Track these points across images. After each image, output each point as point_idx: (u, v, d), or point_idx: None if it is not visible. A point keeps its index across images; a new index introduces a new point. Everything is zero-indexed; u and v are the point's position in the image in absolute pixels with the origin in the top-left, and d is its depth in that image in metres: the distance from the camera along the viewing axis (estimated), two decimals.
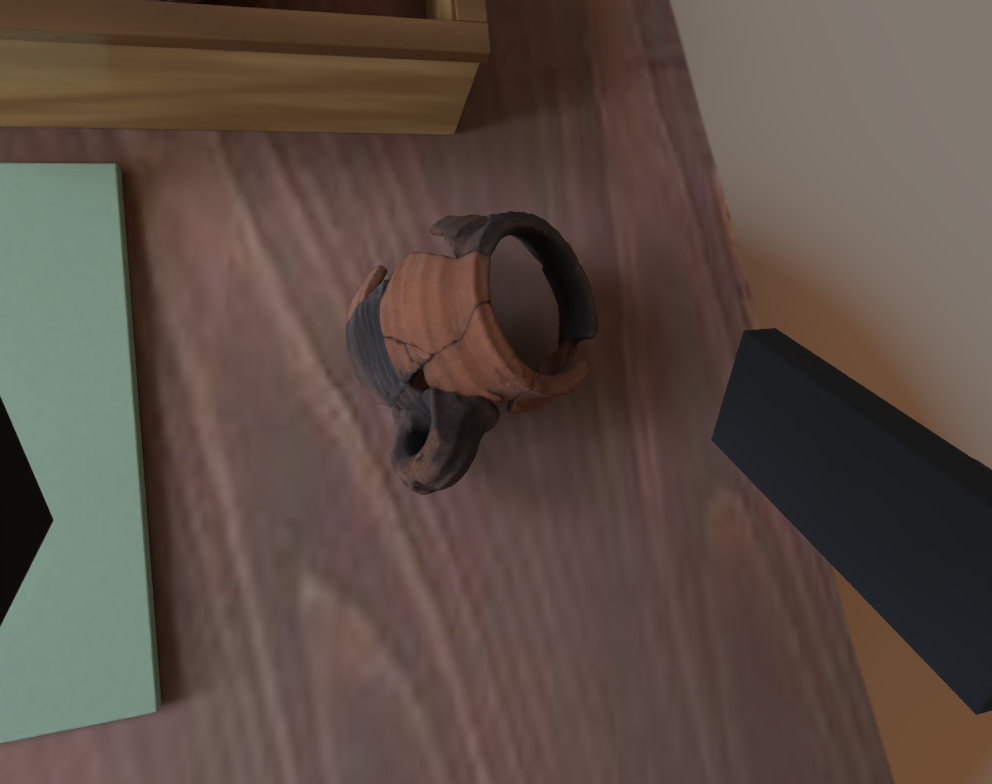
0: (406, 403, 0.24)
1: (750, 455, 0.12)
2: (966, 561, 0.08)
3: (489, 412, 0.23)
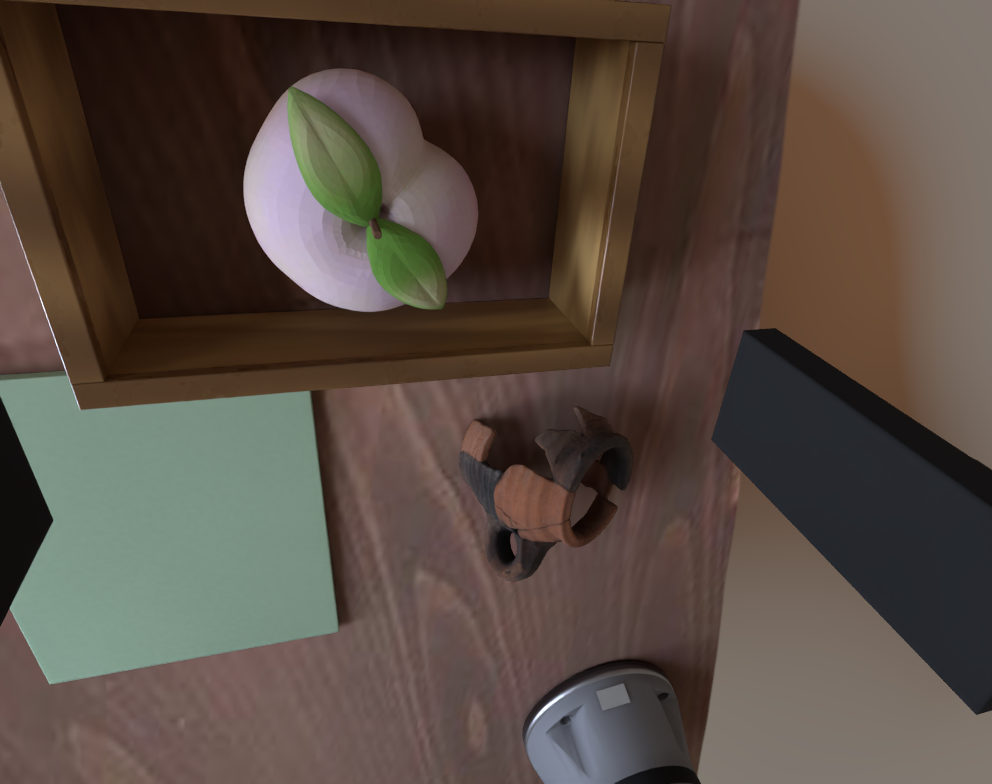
0: (499, 522, 0.38)
1: (750, 455, 0.12)
2: (966, 561, 0.08)
3: (551, 544, 0.37)
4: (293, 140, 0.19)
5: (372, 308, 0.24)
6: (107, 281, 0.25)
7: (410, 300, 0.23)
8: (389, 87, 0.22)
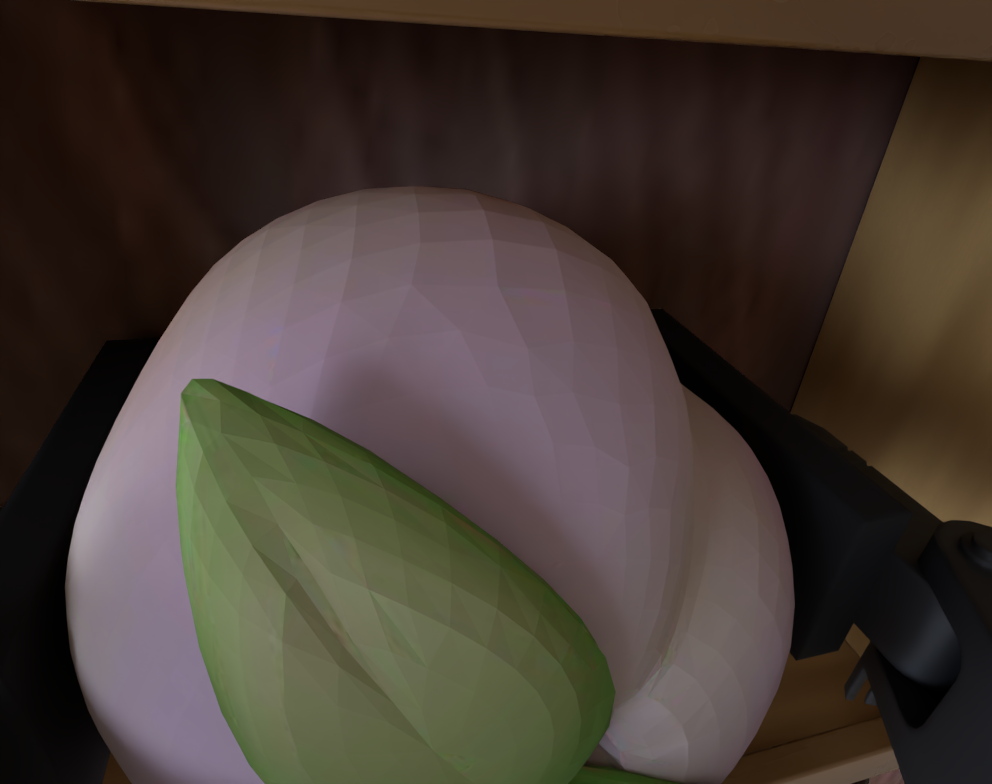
0: None
1: None
2: (785, 516, 0.09)
3: None
4: (212, 664, 0.04)
5: None
6: None
7: None
8: (600, 266, 0.06)
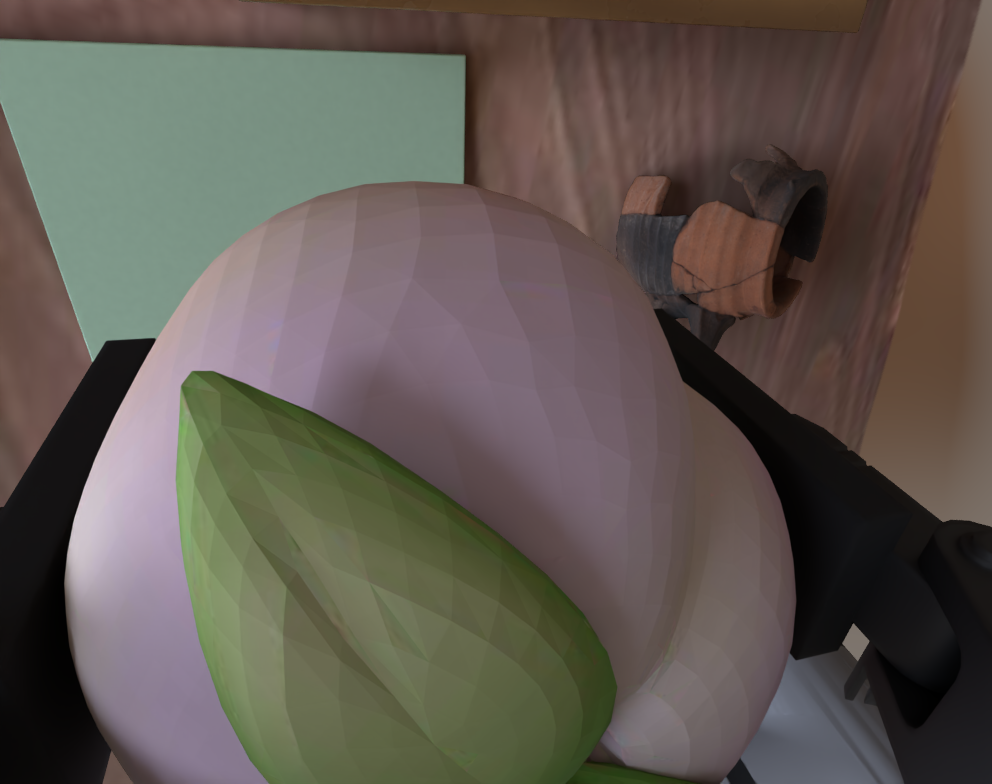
0: (666, 300, 0.32)
1: None
2: (784, 516, 0.09)
3: (730, 323, 0.32)
4: (212, 658, 0.04)
5: None
6: None
7: None
8: (601, 261, 0.06)
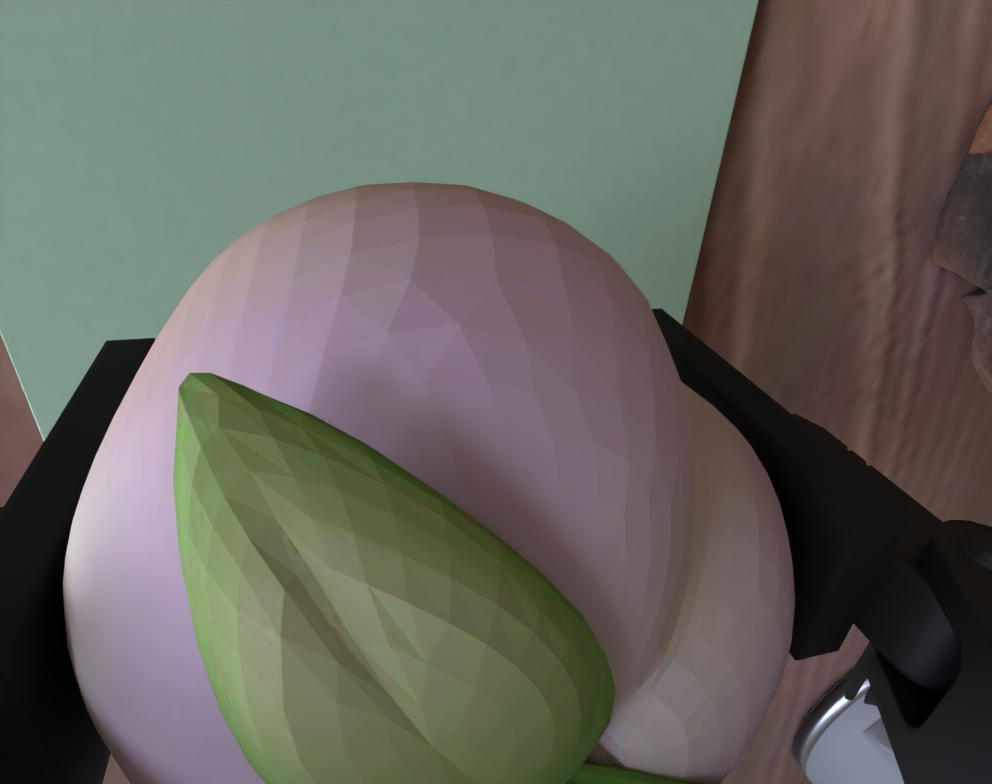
0: None
1: None
2: (785, 517, 0.09)
3: None
4: (210, 660, 0.04)
5: None
6: None
7: None
8: (600, 262, 0.06)
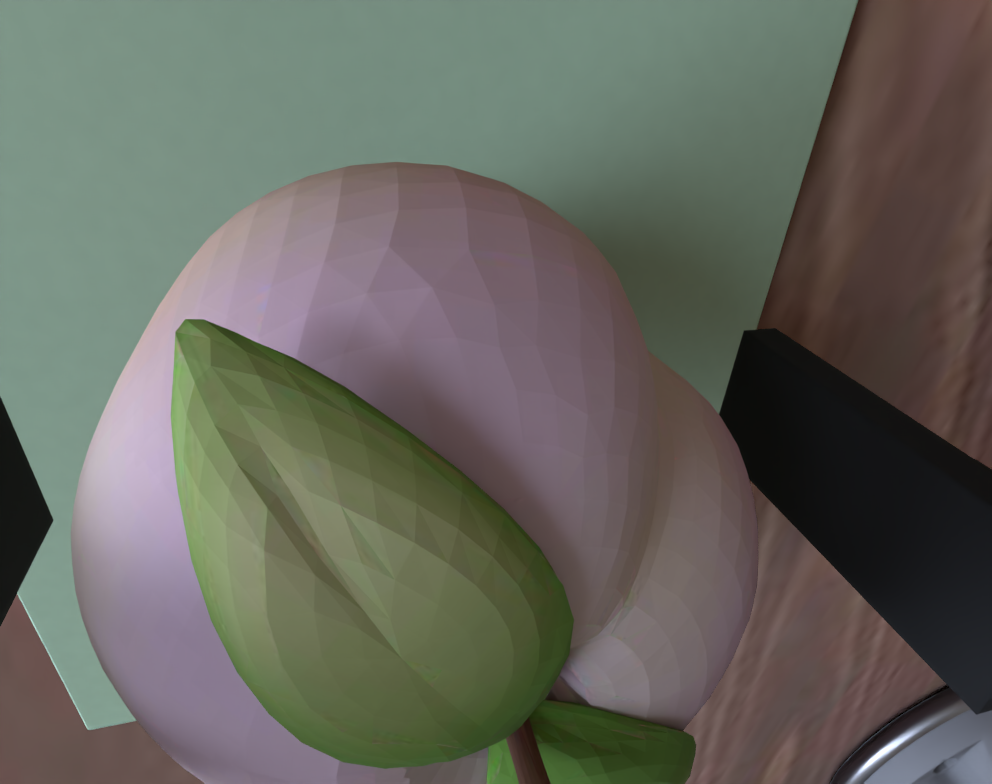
0: None
1: (750, 455, 0.12)
2: (966, 561, 0.08)
3: None
4: (202, 575, 0.04)
5: None
6: None
7: None
8: (569, 236, 0.06)
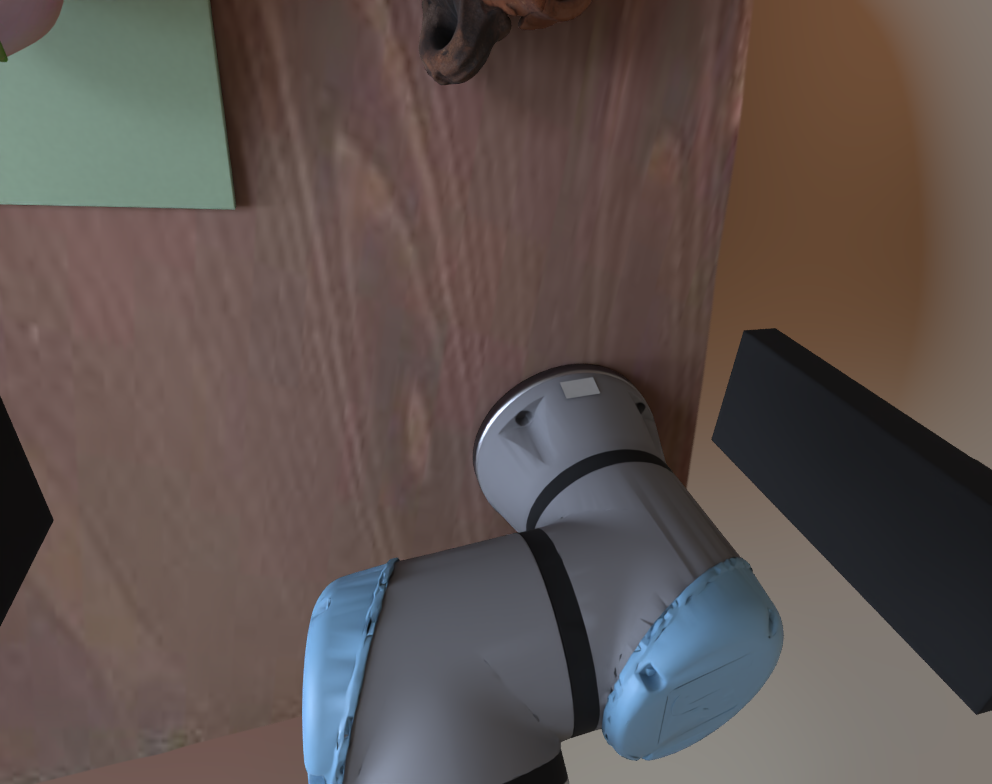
0: None
1: (750, 455, 0.12)
2: (966, 561, 0.08)
3: (503, 24, 0.28)
4: None
5: None
6: None
7: None
8: None
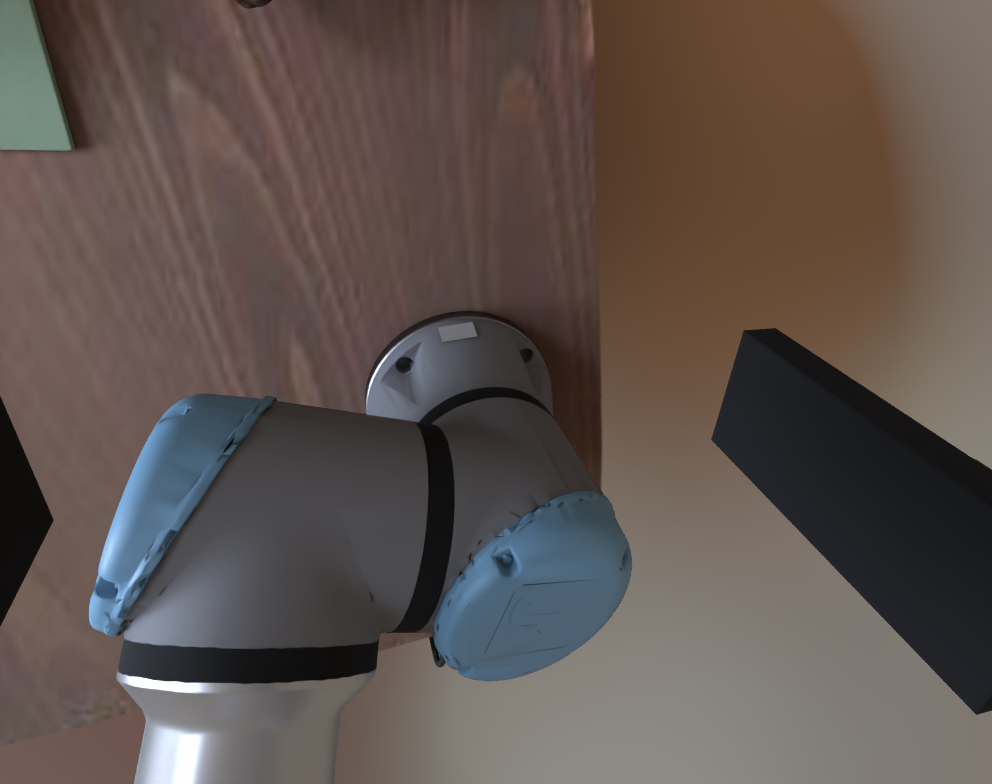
0: None
1: (750, 455, 0.12)
2: (966, 561, 0.08)
3: None
4: None
5: None
6: None
7: None
8: None
